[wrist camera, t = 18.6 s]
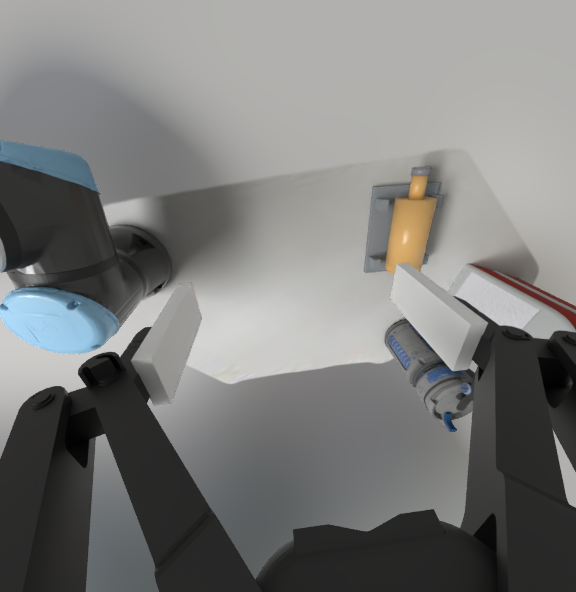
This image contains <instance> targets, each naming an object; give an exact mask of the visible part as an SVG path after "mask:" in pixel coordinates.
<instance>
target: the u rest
mask: <svg viewBox="0 0 576 592" xmlns="http://www.w3.org/2000/svg"><path fill="white" fill-rule="evenodd" d="M410 185H411V184H404V185H390V186H377V187H373V190H372V199H371V209H370V218H369V228H368V237H367V246H366V256H365V265H364V272H365V273H370V272H381V271H387V270H386V269H385V262H386V256H387V249H388V243H389V236H390V230H391V223H392V217H393V210H394V204H395V198H397V197H403V196H409V190H410ZM439 186H440V182H431V183H427V185H426V189H425V194H424V196H427V197H433V198H436V199H437V203H436V207H441V203H442V199H443V195H438V190H439ZM428 256H429V255H427V254H426V253H425V254H424V258H423V262H422V265H423V264H427V261H428Z"/></svg>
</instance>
